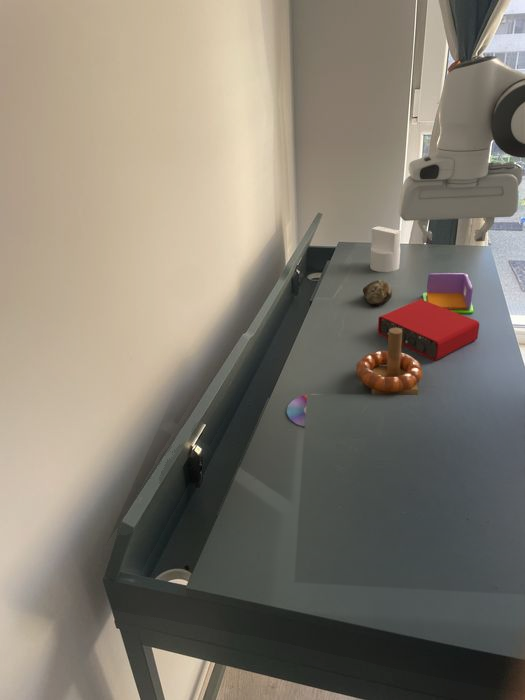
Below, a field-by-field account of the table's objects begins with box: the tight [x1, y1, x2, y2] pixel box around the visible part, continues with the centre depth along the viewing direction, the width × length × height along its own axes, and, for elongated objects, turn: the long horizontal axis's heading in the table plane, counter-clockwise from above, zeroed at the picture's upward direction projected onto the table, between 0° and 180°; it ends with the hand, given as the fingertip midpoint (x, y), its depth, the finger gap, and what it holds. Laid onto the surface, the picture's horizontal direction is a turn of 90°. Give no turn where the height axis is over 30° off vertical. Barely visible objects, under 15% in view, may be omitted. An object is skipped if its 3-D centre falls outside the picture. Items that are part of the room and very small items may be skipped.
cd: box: [286, 393, 323, 428], centre depth 104 cm, size 11×11×1 cm
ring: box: [355, 350, 424, 392], centre depth 109 cm, size 13×13×3 cm
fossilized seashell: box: [362, 279, 393, 306], centre depth 145 cm, size 8×7×10 cm
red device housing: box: [377, 298, 480, 362], centre depth 125 cm, size 18×14×5 cm
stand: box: [370, 328, 419, 396], centre depth 108 cm, size 9×9×12 cm
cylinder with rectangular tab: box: [369, 225, 402, 273], centre depth 164 cm, size 9×9×12 cm
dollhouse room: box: [422, 272, 475, 315], centre depth 139 cm, size 12×12×7 cm
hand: (452, 241), depth 98 cm, fingers open, 8 cm apart
